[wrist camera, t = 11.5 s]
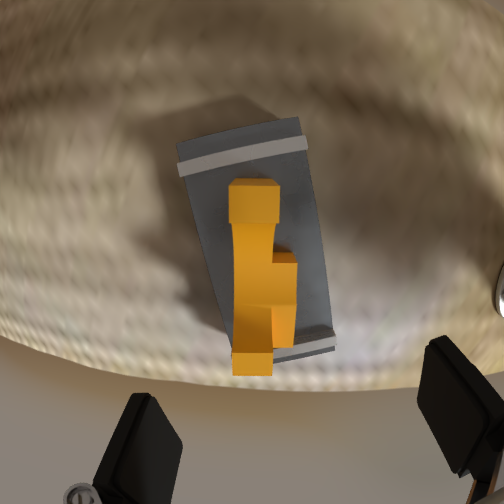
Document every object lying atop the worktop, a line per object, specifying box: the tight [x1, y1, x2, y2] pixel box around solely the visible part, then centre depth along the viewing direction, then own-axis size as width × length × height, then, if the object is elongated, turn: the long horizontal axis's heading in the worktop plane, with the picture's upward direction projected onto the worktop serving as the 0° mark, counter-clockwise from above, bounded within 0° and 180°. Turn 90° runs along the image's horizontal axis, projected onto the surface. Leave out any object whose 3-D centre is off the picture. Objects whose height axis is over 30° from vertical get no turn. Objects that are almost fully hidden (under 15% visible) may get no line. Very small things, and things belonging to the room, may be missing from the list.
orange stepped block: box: [229, 178, 298, 376], centre depth 20 cm, size 12×4×6 cm, turn 0°
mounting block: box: [176, 117, 337, 364], centre depth 25 cm, size 9×20×6 cm, turn 12°
